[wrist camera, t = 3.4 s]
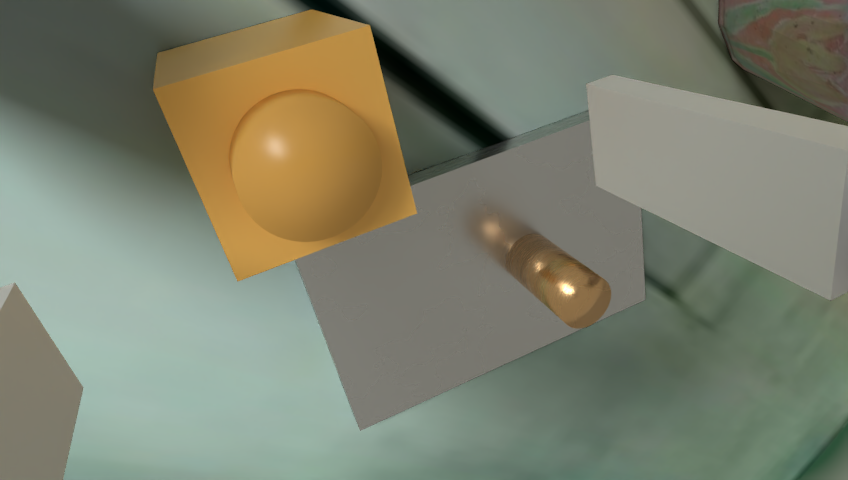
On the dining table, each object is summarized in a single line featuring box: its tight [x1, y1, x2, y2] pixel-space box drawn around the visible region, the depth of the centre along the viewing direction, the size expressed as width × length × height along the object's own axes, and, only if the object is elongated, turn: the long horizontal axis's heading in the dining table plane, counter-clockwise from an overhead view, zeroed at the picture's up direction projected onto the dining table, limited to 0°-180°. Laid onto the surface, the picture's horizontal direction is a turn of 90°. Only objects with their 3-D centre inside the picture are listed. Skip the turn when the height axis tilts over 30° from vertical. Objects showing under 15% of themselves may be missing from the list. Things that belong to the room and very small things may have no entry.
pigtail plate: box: [295, 110, 646, 431], centre depth 29 cm, size 18×12×6 cm, turn 103°
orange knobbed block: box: [153, 9, 417, 281], centre depth 20 cm, size 6×6×10 cm
